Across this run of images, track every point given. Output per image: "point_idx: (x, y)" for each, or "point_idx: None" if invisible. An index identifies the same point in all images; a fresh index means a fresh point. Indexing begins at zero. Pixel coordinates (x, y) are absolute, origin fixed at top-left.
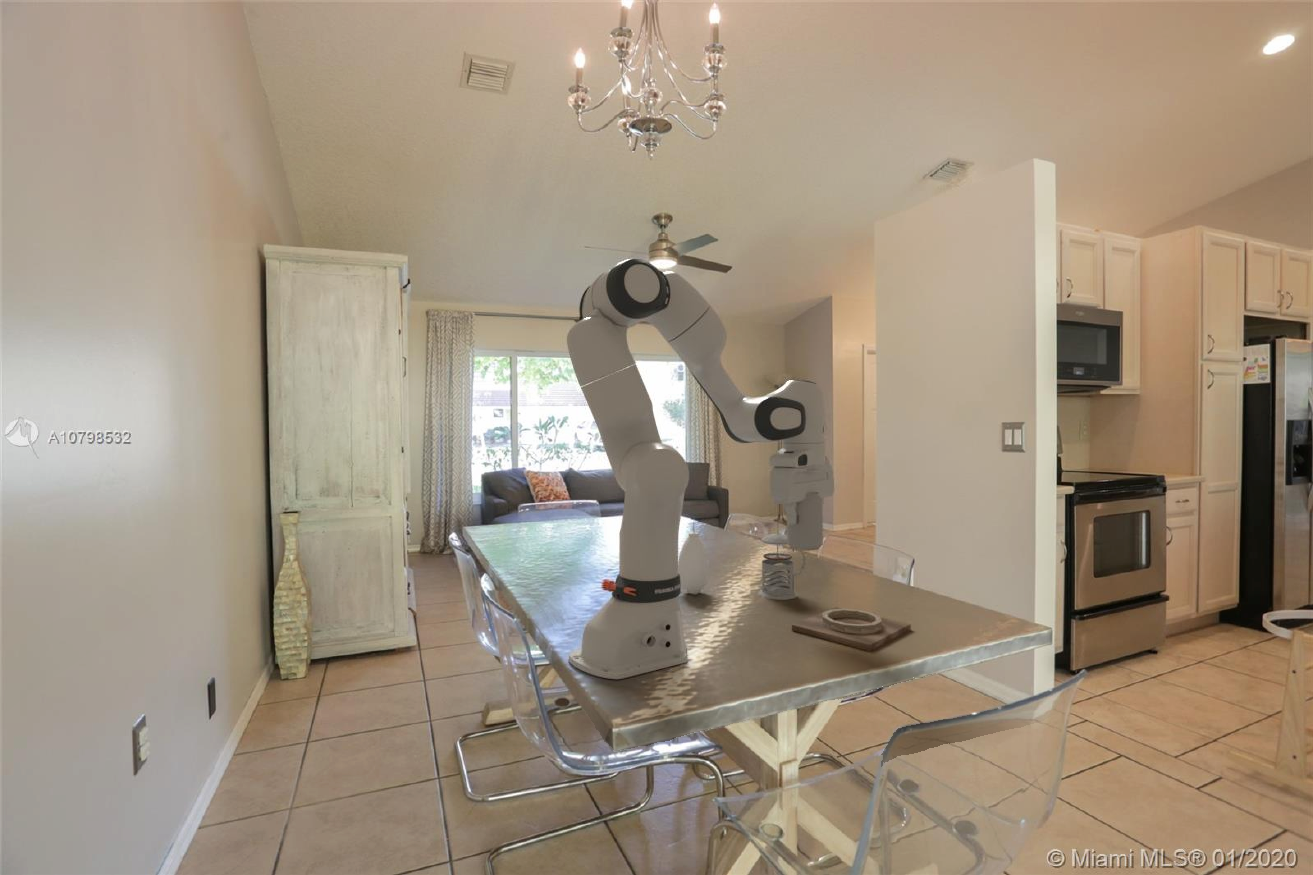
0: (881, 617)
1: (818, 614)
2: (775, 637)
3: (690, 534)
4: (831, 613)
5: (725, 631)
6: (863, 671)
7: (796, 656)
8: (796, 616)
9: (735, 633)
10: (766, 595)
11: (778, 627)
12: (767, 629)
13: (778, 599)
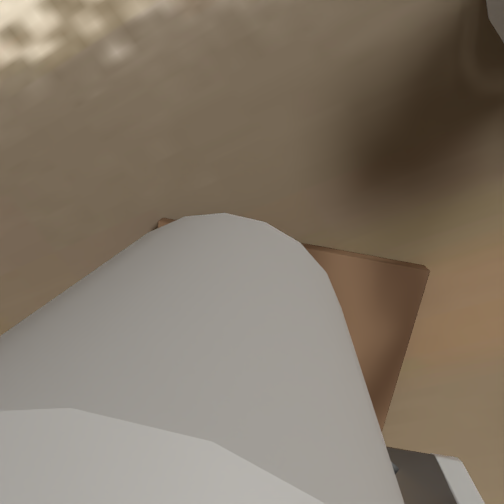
0: (385, 410)
1: (309, 251)
2: (77, 202)
3: None
4: None
5: (20, 46)
6: None
7: None
8: (307, 172)
9: (26, 84)
10: None
11: (164, 171)
12: (125, 151)
13: (490, 17)
